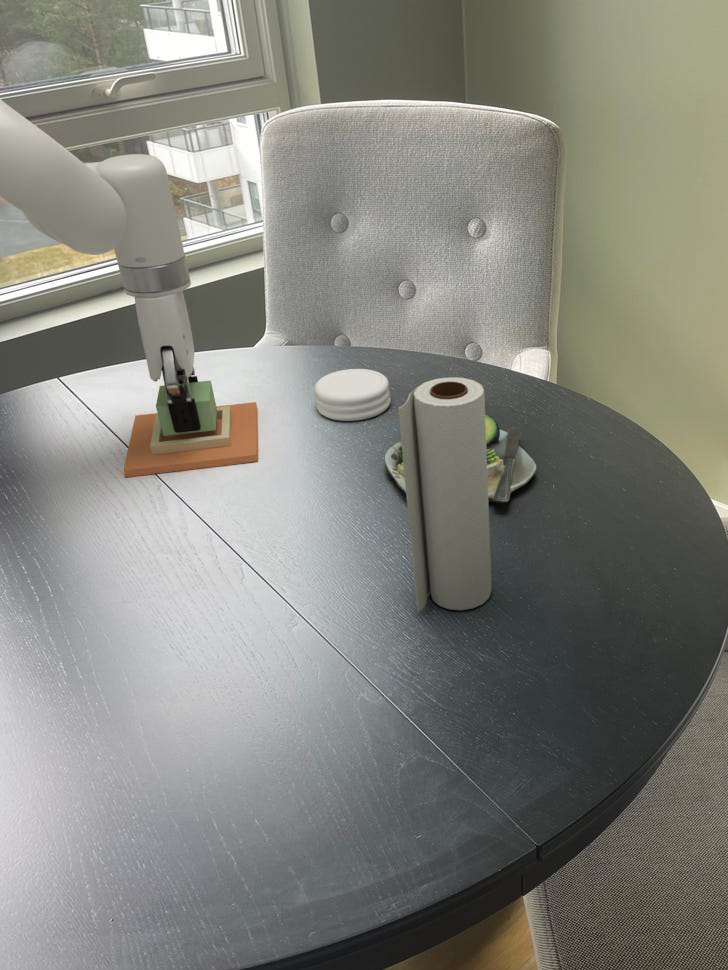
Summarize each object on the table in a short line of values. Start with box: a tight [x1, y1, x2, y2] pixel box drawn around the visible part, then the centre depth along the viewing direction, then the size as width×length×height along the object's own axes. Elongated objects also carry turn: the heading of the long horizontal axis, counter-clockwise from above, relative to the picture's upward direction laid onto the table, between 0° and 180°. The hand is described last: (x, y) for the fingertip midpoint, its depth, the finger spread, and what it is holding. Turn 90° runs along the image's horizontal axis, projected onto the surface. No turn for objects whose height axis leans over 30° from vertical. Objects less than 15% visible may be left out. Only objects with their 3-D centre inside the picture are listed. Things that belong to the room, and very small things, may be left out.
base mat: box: [122, 401, 259, 478], centre depth 124 cm, size 16×16×2 cm
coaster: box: [313, 368, 391, 422], centre depth 130 cm, size 10×10×4 cm
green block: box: [155, 380, 217, 436], centre depth 122 cm, size 6×6×4 cm
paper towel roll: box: [397, 376, 493, 613], centre depth 89 cm, size 7×6×21 cm
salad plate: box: [383, 413, 537, 504], centre depth 113 cm, size 19×18×5 cm
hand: (189, 417), depth 123 cm, fingers closed on green block, 6 cm apart
